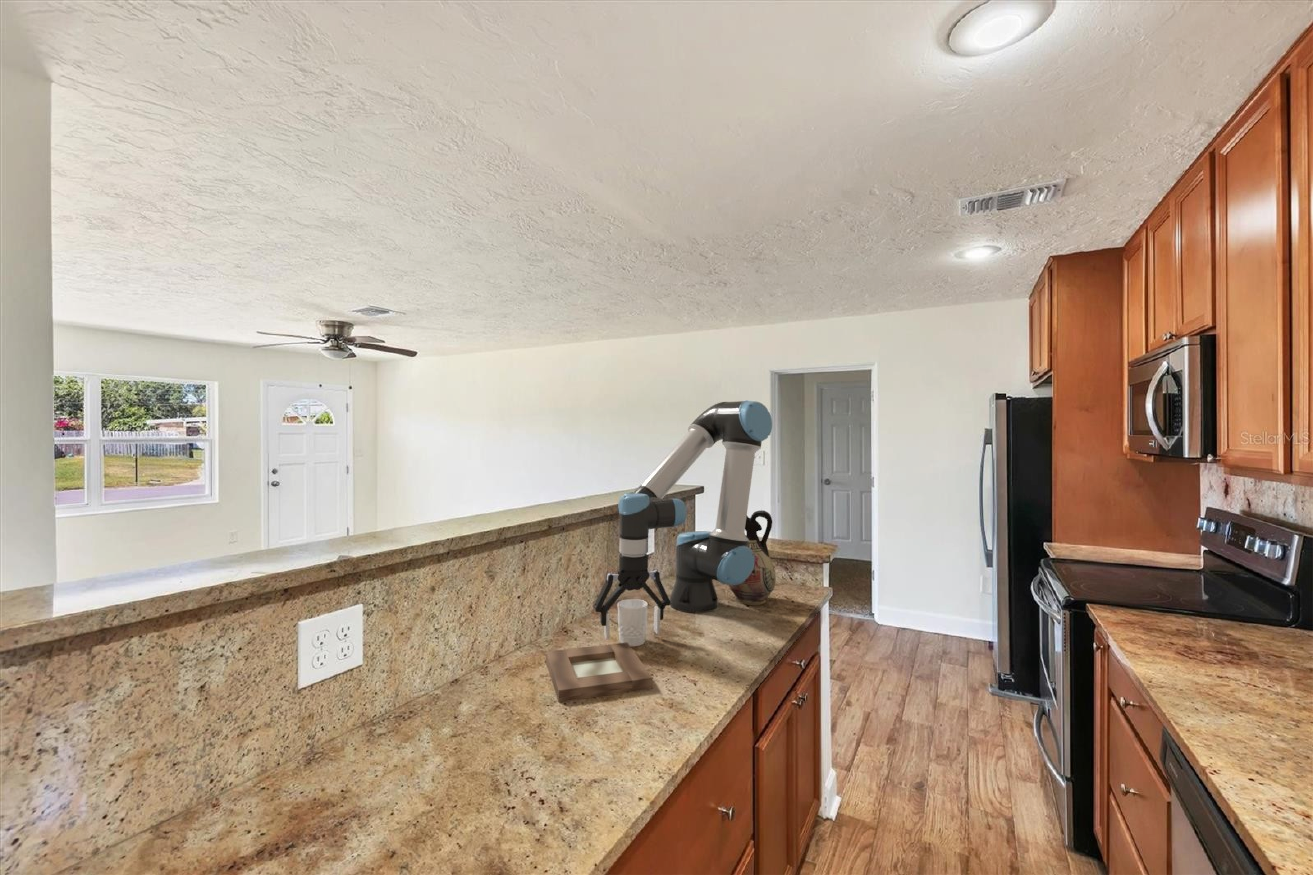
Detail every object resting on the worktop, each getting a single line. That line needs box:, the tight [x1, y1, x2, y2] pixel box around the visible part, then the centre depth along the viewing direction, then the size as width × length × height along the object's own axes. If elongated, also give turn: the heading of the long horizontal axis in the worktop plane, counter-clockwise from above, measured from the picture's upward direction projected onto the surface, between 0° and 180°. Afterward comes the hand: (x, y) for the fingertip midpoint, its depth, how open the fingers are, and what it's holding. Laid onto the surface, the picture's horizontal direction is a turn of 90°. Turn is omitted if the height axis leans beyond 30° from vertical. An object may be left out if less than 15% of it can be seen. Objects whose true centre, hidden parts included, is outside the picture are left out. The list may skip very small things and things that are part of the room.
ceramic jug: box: [728, 509, 777, 606], centre depth 178 cm, size 17×15×30 cm
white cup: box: [617, 598, 649, 648], centre depth 143 cm, size 8×8×10 cm
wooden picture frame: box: [545, 642, 654, 703], centre depth 124 cm, size 20×20×2 cm
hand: (632, 635), depth 144 cm, fingers open, 13 cm apart
